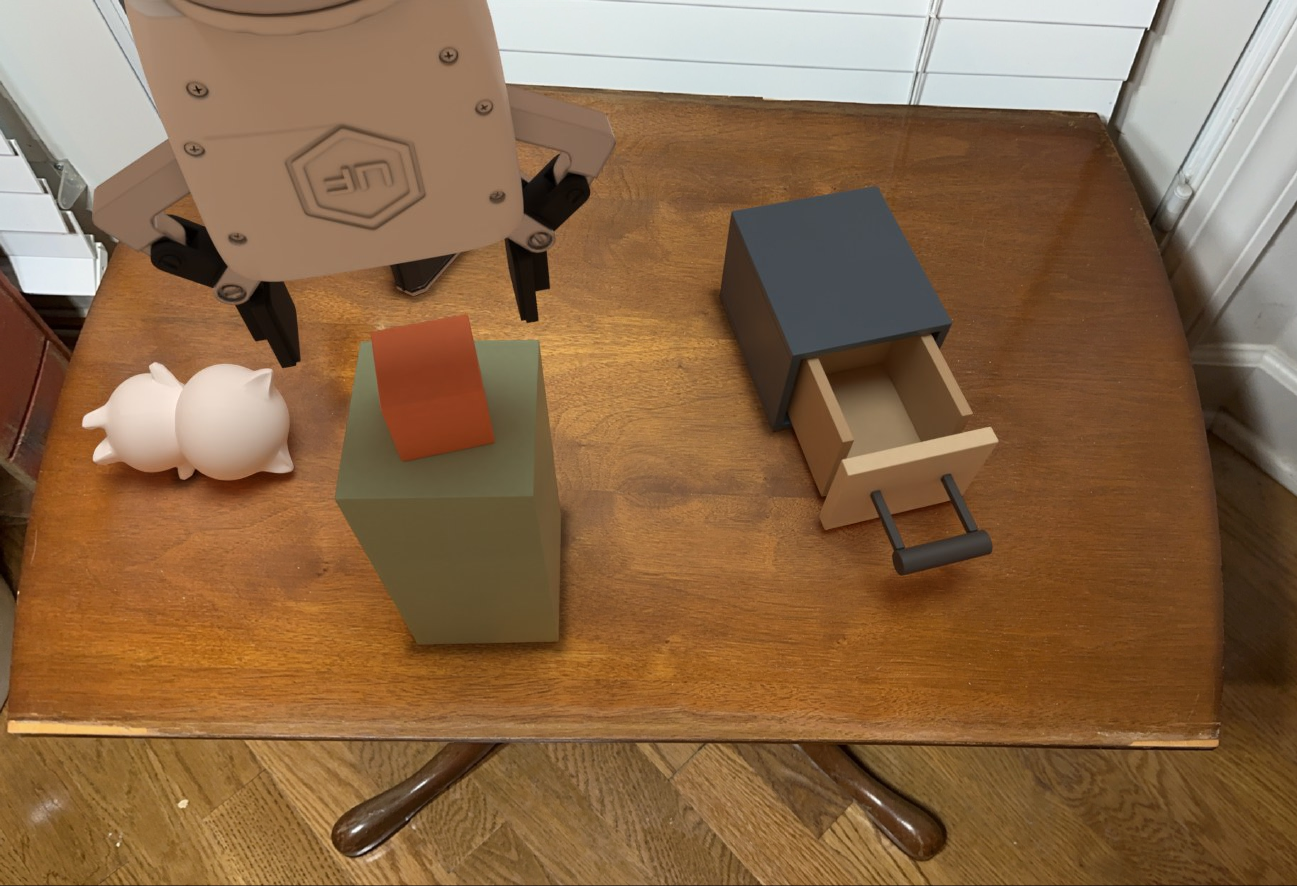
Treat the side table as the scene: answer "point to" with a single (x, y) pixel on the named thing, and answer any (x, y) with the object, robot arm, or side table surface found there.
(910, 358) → the drawer
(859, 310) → the cabinet
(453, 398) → the block
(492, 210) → the robot arm
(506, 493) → the stand
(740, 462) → the side table surface
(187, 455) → the cat figurine
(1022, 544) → the side table surface
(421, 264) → the camera
